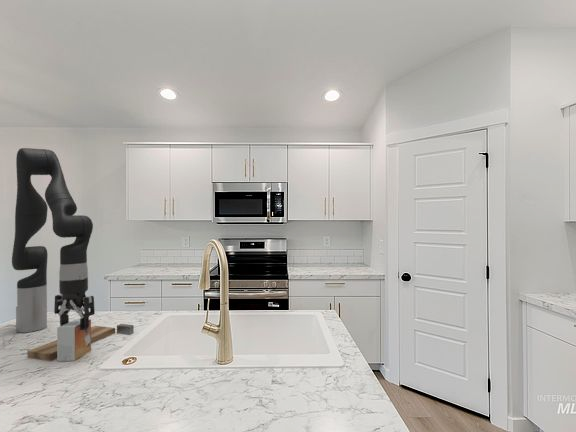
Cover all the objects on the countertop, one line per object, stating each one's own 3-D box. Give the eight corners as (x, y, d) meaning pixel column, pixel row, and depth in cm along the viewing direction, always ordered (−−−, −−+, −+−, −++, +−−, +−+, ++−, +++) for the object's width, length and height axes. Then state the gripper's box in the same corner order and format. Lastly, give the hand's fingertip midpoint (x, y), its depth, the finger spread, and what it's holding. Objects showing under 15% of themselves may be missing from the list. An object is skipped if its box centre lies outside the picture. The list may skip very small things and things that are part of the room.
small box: (74, 361, 94) (74, 327, 94) (56, 361, 94) (56, 327, 94) (91, 350, 102) (91, 318, 102) (75, 350, 102) (75, 318, 102)
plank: (27, 357, 97) (27, 350, 97) (95, 330, 120) (95, 325, 120) (50, 361, 94) (50, 354, 94) (115, 333, 117) (115, 327, 117)
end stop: (116, 333, 117) (116, 325, 117) (121, 331, 119) (121, 323, 119) (129, 334, 115) (129, 326, 115) (133, 332, 117) (133, 325, 117)
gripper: (45, 278, 96) (46, 330, 96) (79, 280, 92) (79, 334, 92) (69, 274, 104) (69, 322, 103) (101, 276, 99) (101, 326, 99)
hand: (74, 328), depth 98 cm, fingers open, 8 cm apart
